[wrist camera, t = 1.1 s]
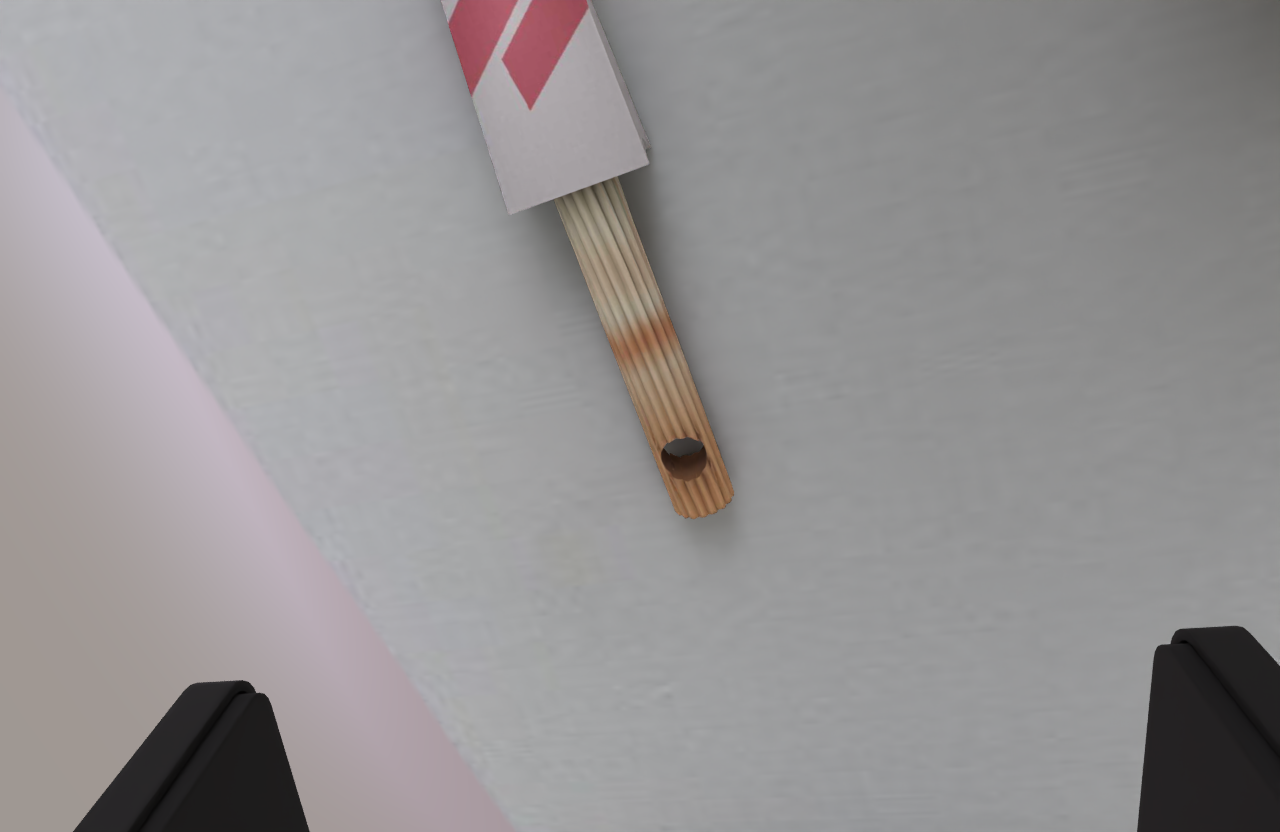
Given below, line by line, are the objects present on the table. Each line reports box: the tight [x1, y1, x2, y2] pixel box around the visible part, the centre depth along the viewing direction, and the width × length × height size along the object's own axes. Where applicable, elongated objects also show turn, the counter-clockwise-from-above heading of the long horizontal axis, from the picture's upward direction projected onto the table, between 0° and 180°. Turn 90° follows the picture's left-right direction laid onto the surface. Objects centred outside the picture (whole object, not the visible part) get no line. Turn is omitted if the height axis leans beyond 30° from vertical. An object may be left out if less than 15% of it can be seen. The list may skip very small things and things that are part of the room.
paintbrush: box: [441, 0, 734, 519], centre depth 26 cm, size 4×3×20 cm
